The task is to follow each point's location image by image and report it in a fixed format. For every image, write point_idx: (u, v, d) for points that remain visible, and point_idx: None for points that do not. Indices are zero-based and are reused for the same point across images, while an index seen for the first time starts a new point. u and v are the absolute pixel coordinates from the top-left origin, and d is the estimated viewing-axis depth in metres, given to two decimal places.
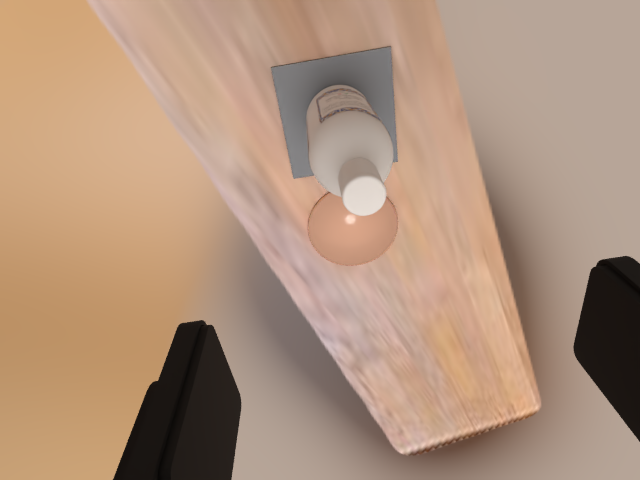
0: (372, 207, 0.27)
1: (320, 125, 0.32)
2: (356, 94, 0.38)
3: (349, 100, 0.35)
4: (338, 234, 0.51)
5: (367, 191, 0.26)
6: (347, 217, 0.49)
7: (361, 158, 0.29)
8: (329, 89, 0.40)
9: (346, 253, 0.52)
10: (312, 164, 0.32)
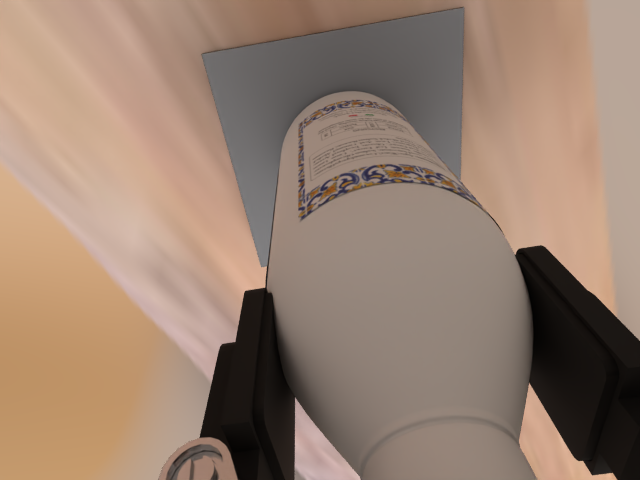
0: None
1: (299, 225, 0.10)
2: (392, 115, 0.16)
3: (382, 136, 0.13)
4: None
5: None
6: None
7: (466, 428, 0.07)
8: (328, 102, 0.18)
9: None
10: None
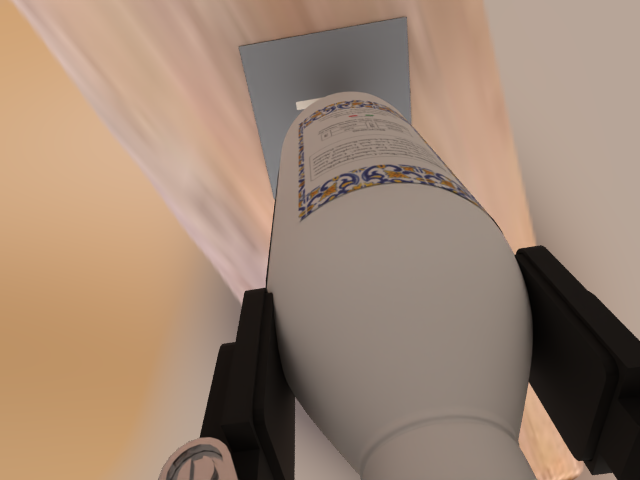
0: None
1: (299, 226, 0.10)
2: (392, 115, 0.16)
3: (381, 137, 0.13)
4: None
5: None
6: None
7: (464, 426, 0.07)
8: (328, 102, 0.18)
9: None
10: None
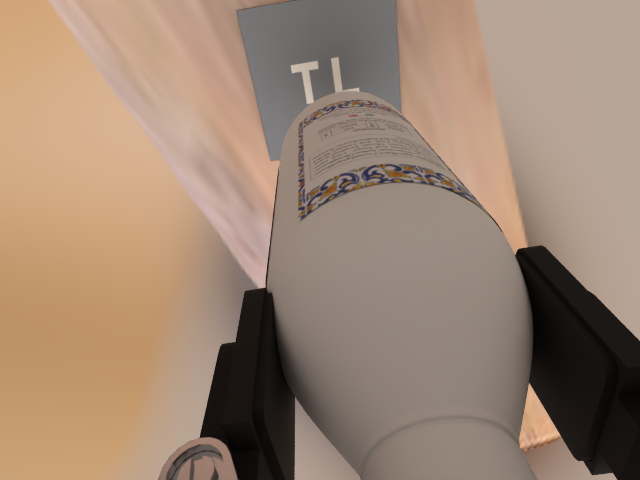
0: None
1: (299, 225, 0.10)
2: (392, 115, 0.16)
3: (381, 136, 0.13)
4: None
5: None
6: None
7: (465, 427, 0.07)
8: (328, 102, 0.18)
9: None
10: None
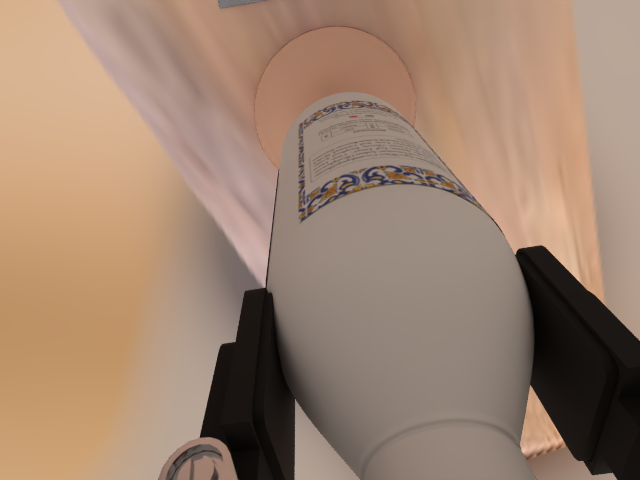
0: None
1: (299, 227, 0.10)
2: (392, 116, 0.16)
3: (382, 138, 0.13)
4: None
5: None
6: (324, 94, 0.27)
7: (466, 431, 0.07)
8: (328, 102, 0.18)
9: None
10: None
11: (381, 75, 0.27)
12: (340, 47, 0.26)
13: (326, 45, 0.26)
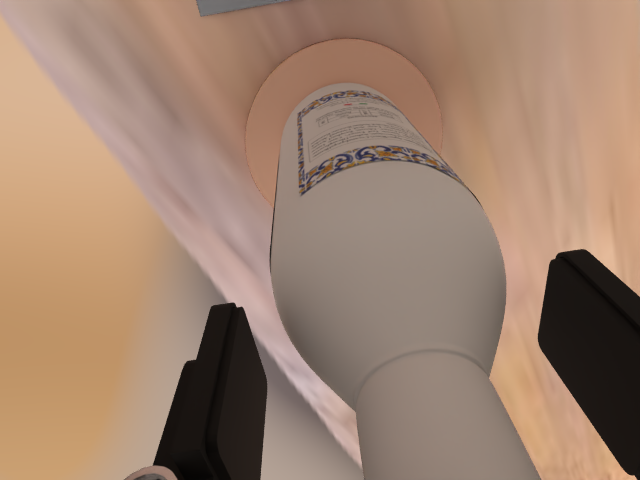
0: None
1: (299, 200, 0.12)
2: (384, 104, 0.17)
3: (374, 122, 0.14)
4: None
5: None
6: None
7: (441, 357, 0.08)
8: (325, 92, 0.19)
9: None
10: (278, 309, 0.12)
11: (401, 98, 0.22)
12: (351, 64, 0.21)
13: (333, 62, 0.21)
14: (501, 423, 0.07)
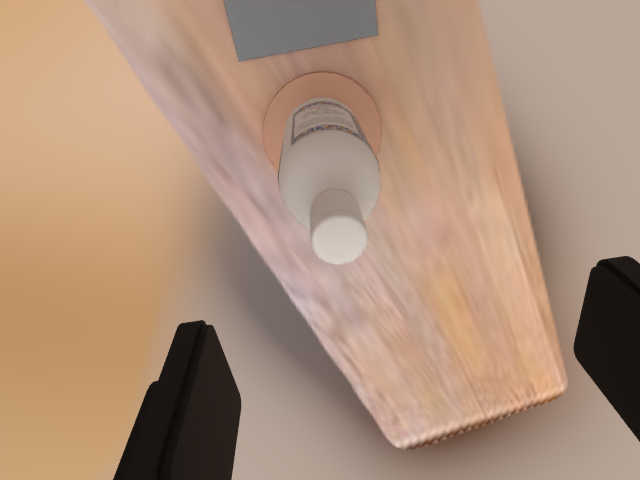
0: (350, 254, 0.21)
1: (291, 147, 0.27)
2: (339, 108, 0.33)
3: (328, 116, 0.30)
4: None
5: (342, 234, 0.21)
6: None
7: (337, 190, 0.23)
8: (308, 102, 0.35)
9: None
10: (282, 194, 0.27)
11: (355, 106, 0.37)
12: (324, 86, 0.36)
13: (314, 85, 0.36)
14: (351, 202, 0.22)
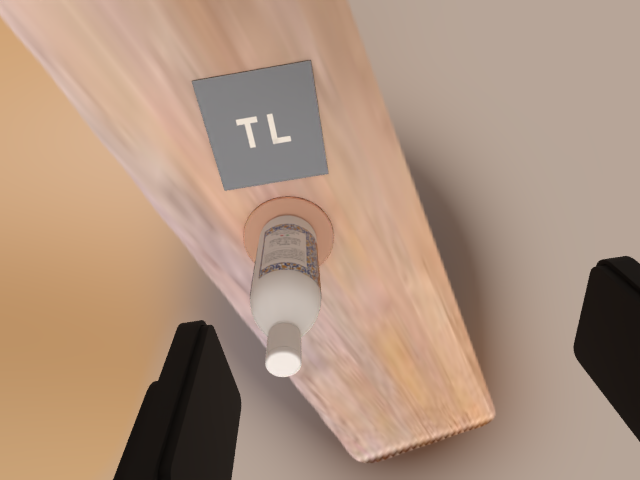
0: (290, 371, 0.33)
1: (258, 280, 0.39)
2: (297, 233, 0.45)
3: (286, 248, 0.42)
4: None
5: (285, 361, 0.33)
6: None
7: (285, 323, 0.35)
8: (276, 223, 0.47)
9: None
10: None
11: (312, 220, 0.49)
12: (289, 207, 0.48)
13: (281, 207, 0.48)
14: (292, 336, 0.34)
